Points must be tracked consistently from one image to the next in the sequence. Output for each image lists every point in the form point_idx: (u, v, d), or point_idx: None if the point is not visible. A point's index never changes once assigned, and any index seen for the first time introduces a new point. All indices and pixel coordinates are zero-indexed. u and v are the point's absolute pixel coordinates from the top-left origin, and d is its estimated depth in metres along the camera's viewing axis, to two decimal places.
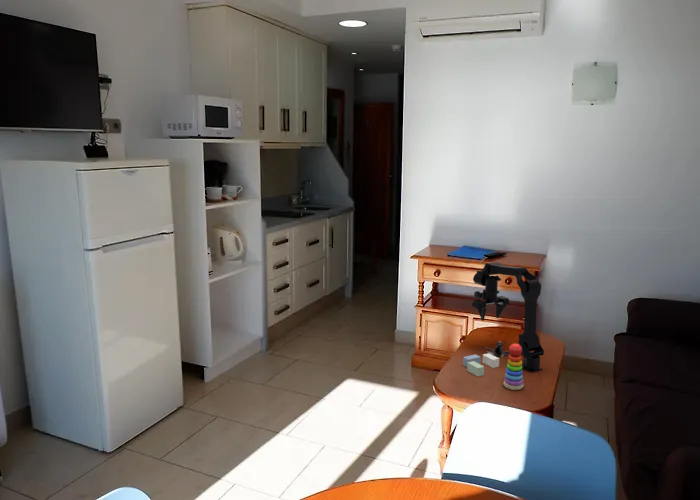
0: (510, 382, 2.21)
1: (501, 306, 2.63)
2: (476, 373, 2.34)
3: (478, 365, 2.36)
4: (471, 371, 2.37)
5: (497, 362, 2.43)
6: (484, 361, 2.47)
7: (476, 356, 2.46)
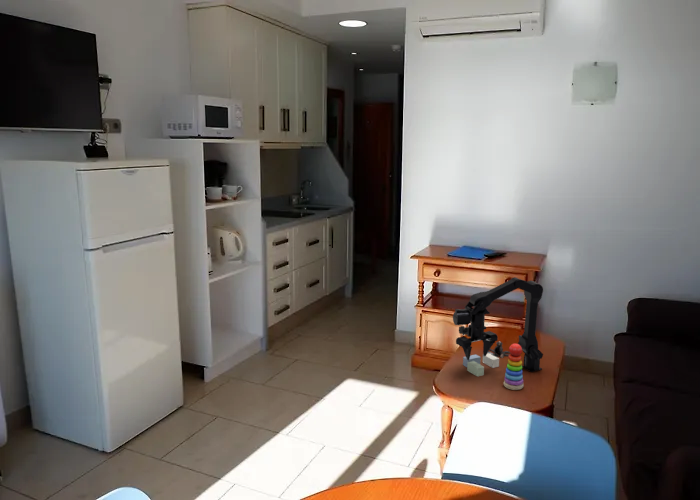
0: (510, 382, 2.21)
1: (489, 343, 2.36)
2: (476, 373, 2.34)
3: (478, 365, 2.36)
4: (471, 371, 2.37)
5: (497, 362, 2.43)
6: (484, 361, 2.47)
7: (476, 356, 2.46)
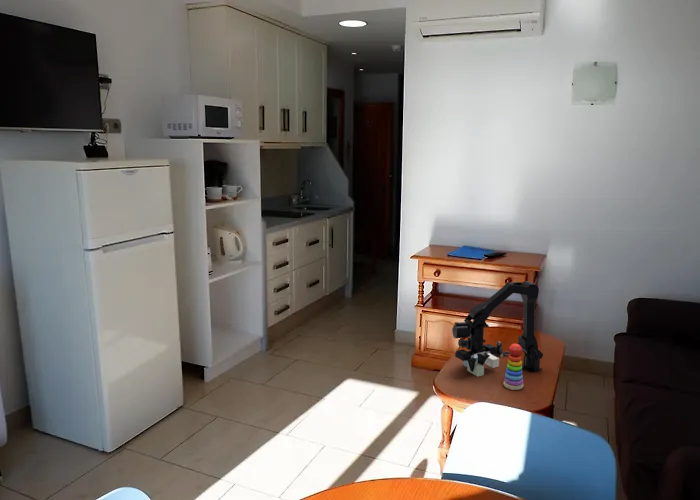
0: (510, 382, 2.21)
1: (483, 357, 2.35)
2: (476, 373, 2.34)
3: (478, 365, 2.36)
4: None
5: (497, 362, 2.43)
6: None
7: (476, 356, 2.46)
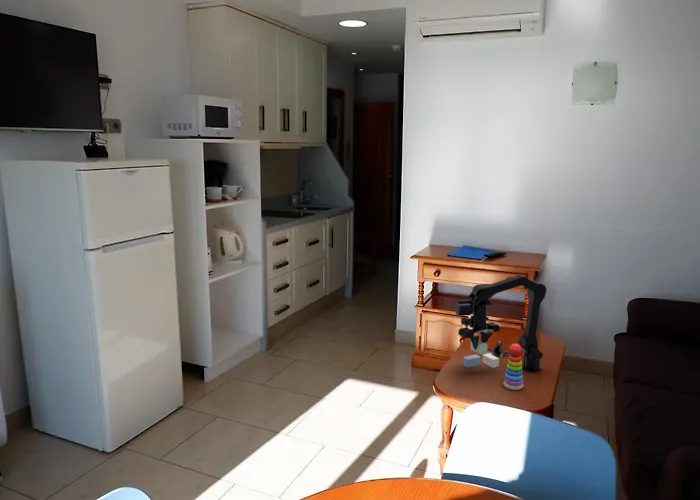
0: (510, 382, 2.21)
1: (486, 335, 2.35)
2: (479, 350, 2.33)
3: (481, 343, 2.35)
4: None
5: (497, 362, 2.43)
6: (484, 361, 2.47)
7: (476, 356, 2.46)
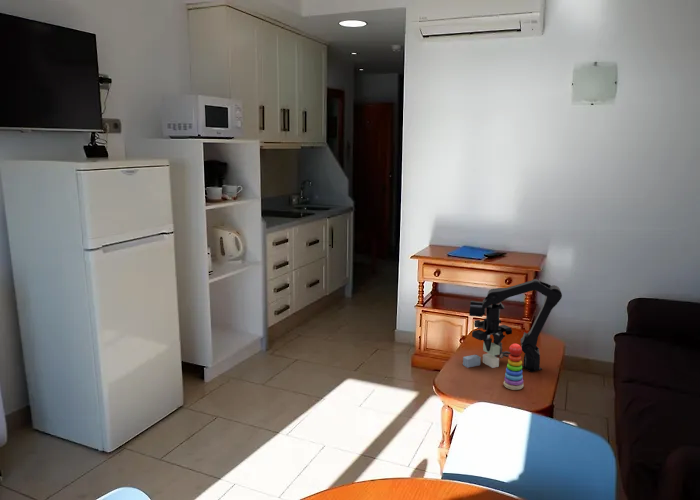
0: (510, 382, 2.21)
1: (499, 337, 2.43)
2: (492, 352, 2.42)
3: (494, 344, 2.44)
4: None
5: (497, 362, 2.43)
6: (484, 361, 2.47)
7: (476, 356, 2.46)
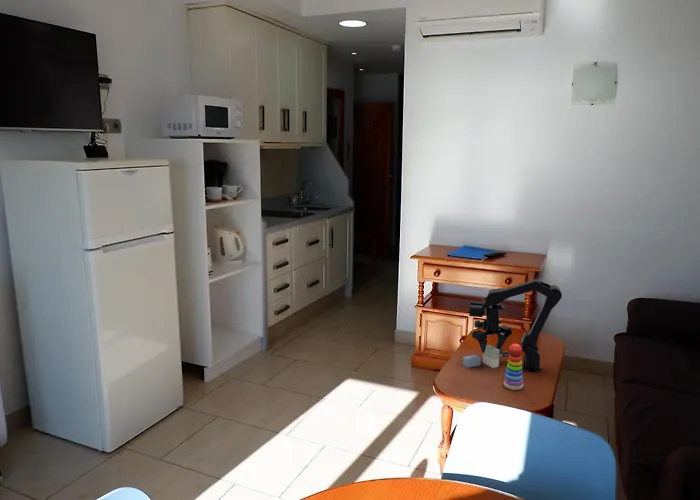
0: (510, 382, 2.21)
1: (503, 337, 2.44)
2: (492, 356, 2.42)
3: (494, 348, 2.44)
4: (487, 354, 2.45)
5: (497, 362, 2.43)
6: (484, 361, 2.47)
7: (476, 356, 2.46)
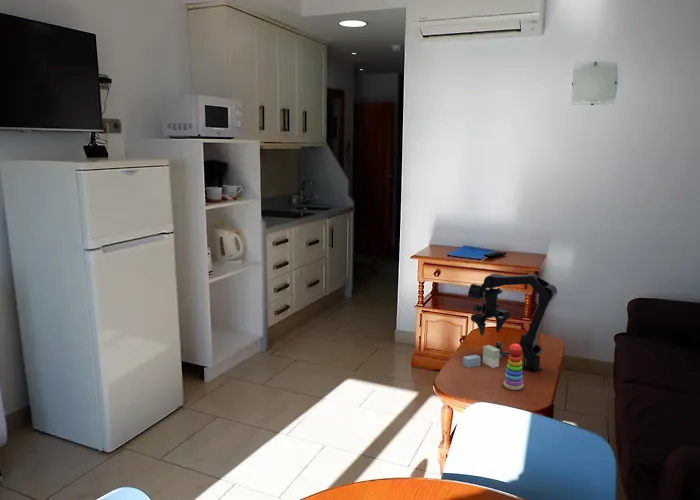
0: (510, 382, 2.21)
1: (501, 320, 2.50)
2: (492, 356, 2.42)
3: (494, 348, 2.44)
4: (487, 354, 2.45)
5: (497, 362, 2.43)
6: (484, 361, 2.48)
7: (476, 356, 2.46)
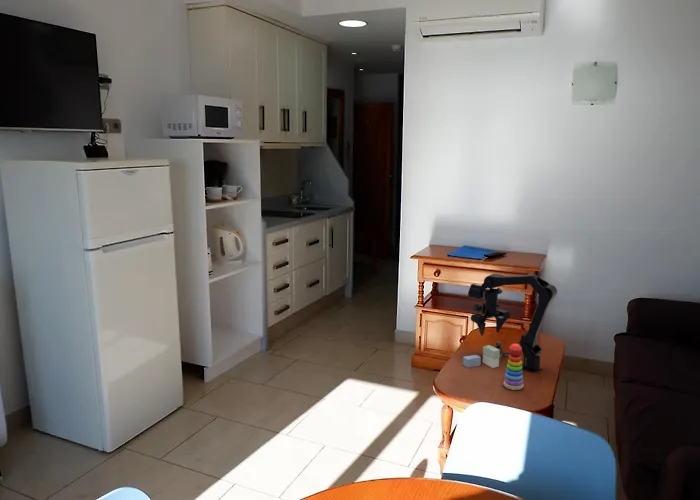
0: (510, 382, 2.21)
1: (501, 320, 2.50)
2: (492, 356, 2.42)
3: (494, 348, 2.44)
4: (487, 354, 2.45)
5: (497, 362, 2.43)
6: (484, 361, 2.47)
7: (476, 356, 2.46)
